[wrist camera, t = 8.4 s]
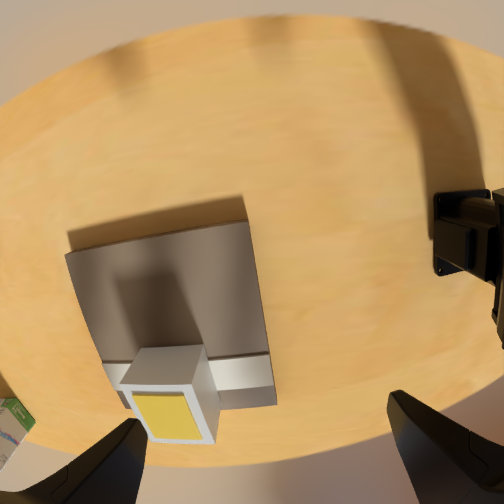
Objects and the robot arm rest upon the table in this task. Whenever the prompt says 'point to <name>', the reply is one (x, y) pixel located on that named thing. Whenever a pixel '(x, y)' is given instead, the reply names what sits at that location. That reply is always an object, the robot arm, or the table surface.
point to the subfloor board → (180, 305)
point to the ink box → (12, 427)
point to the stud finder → (174, 394)
